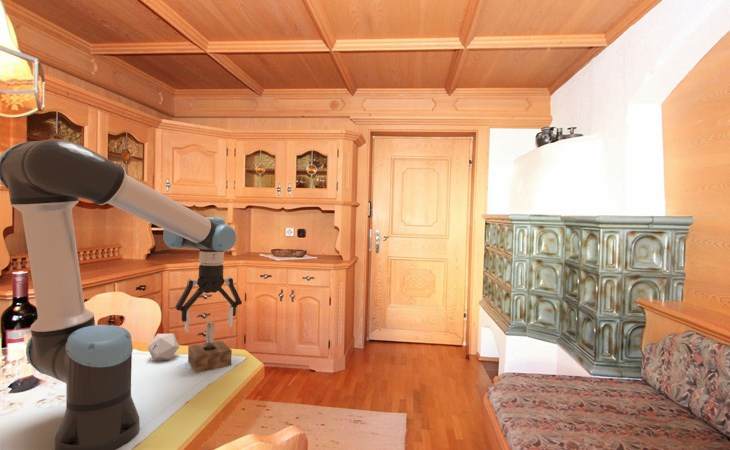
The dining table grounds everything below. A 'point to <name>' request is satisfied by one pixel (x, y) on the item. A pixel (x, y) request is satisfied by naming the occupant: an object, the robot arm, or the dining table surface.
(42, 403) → the dining table surface
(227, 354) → the socket block
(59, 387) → the dining table surface
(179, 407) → the dining table surface
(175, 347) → the die
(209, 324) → the pin
